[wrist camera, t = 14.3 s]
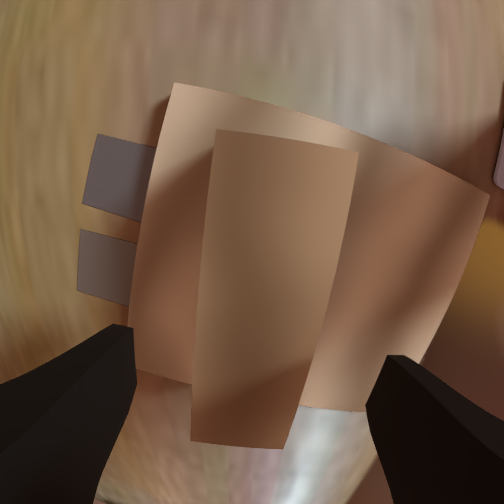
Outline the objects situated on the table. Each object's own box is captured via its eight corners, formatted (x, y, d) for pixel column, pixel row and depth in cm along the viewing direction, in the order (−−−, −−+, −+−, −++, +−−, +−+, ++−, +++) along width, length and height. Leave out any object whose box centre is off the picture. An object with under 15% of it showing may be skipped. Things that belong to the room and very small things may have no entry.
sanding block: (316, 150, 14) (359, 152, 8) (274, 368, 18) (282, 449, 12) (229, 137, 14) (216, 128, 8) (205, 361, 18) (190, 440, 12)
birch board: (475, 191, 16) (490, 195, 15) (381, 399, 21) (387, 413, 19) (181, 88, 15) (174, 82, 13) (131, 352, 19) (124, 365, 18)
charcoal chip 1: (166, 150, 16) (163, 150, 16) (147, 220, 17) (144, 223, 17) (102, 134, 16) (97, 133, 15) (86, 201, 17) (82, 203, 16)
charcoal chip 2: (145, 242, 18) (142, 245, 17) (137, 303, 19) (134, 308, 18) (85, 226, 17) (80, 229, 17) (81, 286, 18) (77, 290, 18)
